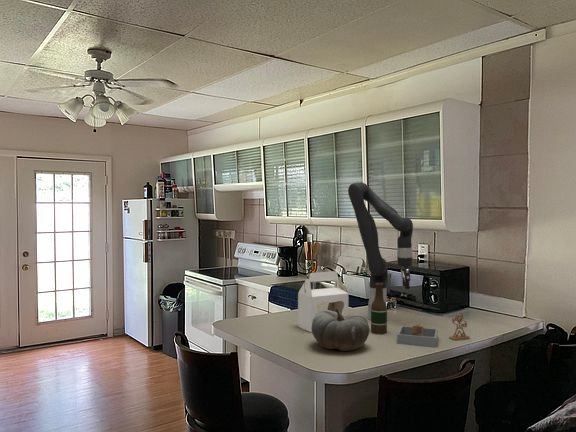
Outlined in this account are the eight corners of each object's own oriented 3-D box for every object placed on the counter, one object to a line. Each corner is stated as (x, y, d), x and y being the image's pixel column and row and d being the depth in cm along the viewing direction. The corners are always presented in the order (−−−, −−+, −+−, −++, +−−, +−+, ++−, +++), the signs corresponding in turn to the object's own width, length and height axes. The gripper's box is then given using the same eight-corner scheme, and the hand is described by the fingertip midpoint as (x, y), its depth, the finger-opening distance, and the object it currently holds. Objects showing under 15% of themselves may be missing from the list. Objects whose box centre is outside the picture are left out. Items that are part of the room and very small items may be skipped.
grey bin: (397, 343, 220) (397, 334, 220) (401, 334, 236) (401, 325, 236) (435, 347, 215) (436, 338, 215) (437, 337, 231) (437, 329, 231)
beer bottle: (387, 331, 242) (388, 282, 241) (385, 335, 234) (386, 284, 234) (372, 329, 244) (372, 281, 244) (369, 333, 237) (369, 283, 236)
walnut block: (412, 341, 224) (412, 326, 224) (413, 338, 228) (413, 323, 228) (422, 342, 223) (422, 326, 222) (423, 339, 227) (423, 324, 227)
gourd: (306, 332, 227) (313, 296, 225) (358, 341, 229) (366, 305, 227) (311, 354, 202) (319, 314, 200) (370, 363, 204) (378, 324, 202)
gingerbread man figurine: (464, 336, 232) (464, 311, 232) (469, 338, 229) (470, 313, 229) (448, 338, 229) (449, 312, 229) (454, 340, 226) (455, 314, 225)
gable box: (334, 322, 260) (334, 269, 259) (348, 327, 248) (349, 272, 247) (297, 326, 249) (297, 271, 248) (310, 332, 237) (311, 275, 237)
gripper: (395, 255, 262) (396, 285, 263) (399, 258, 248) (400, 290, 249) (410, 254, 262) (411, 285, 262) (414, 257, 248) (415, 289, 248)
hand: (406, 287), depth 255 cm, fingers open, 8 cm apart
